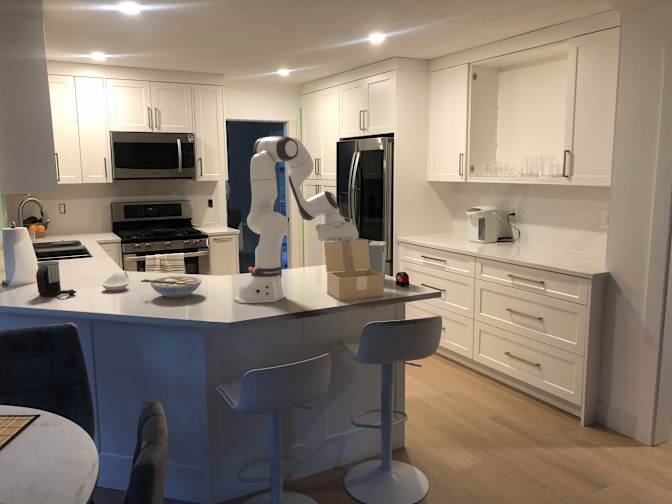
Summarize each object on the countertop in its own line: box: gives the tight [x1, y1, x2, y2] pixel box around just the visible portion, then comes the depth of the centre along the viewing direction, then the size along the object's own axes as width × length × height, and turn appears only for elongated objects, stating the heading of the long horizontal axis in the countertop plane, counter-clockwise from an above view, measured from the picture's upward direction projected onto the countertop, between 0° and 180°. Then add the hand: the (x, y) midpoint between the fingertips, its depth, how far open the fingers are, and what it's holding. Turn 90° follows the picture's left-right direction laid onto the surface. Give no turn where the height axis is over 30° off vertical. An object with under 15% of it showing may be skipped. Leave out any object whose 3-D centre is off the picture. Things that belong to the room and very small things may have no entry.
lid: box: [323, 239, 370, 273], centre depth 257 cm, size 22×14×1 cm
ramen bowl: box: [140, 274, 203, 299], centre depth 248 cm, size 25×23×8 cm
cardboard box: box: [326, 269, 385, 302], centre depth 251 cm, size 22×14×10 cm, turn 112°
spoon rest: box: [101, 270, 130, 292], centre depth 265 cm, size 24×12×7 cm, turn 10°
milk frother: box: [35, 260, 77, 297], centre depth 248 cm, size 14×16×15 cm
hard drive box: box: [366, 240, 387, 280], centre depth 279 cm, size 16×8×20 cm, turn 168°
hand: (342, 246), depth 263 cm, fingers closed
